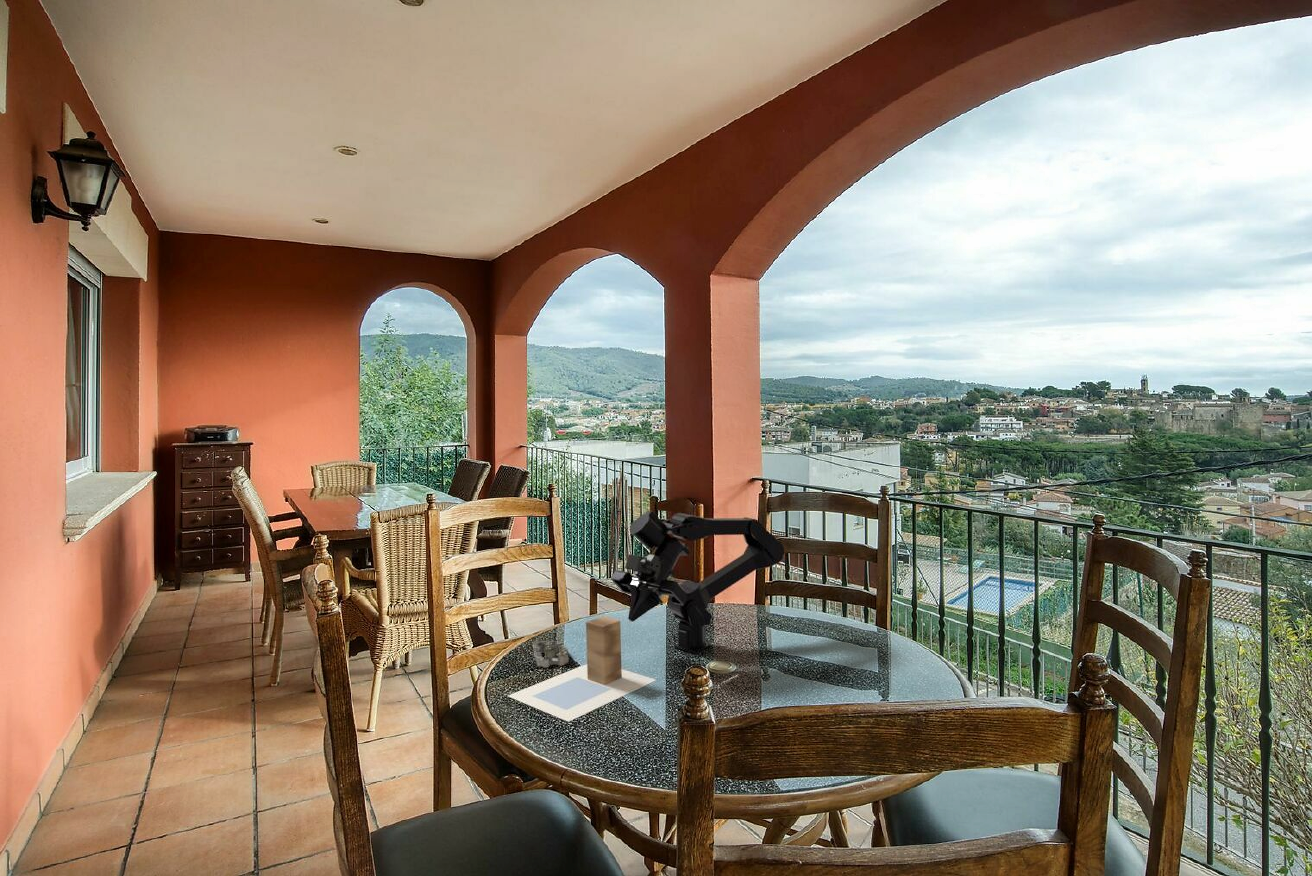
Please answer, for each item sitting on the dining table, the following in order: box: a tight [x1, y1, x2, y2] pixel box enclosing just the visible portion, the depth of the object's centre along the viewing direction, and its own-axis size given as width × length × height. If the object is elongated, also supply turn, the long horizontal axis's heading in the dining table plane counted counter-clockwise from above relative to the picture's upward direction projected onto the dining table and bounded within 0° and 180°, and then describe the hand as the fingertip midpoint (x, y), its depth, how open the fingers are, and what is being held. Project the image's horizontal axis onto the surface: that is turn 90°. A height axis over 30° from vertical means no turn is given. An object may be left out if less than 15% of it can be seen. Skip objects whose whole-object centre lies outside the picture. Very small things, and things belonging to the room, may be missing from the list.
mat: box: [507, 663, 657, 723], centre depth 138 cm, size 24×18×1 cm
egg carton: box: [532, 639, 569, 669], centre depth 155 cm, size 11×8×4 cm
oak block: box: [585, 615, 623, 685], centre depth 142 cm, size 5×5×12 cm
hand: (630, 620), depth 149 cm, fingers closed
